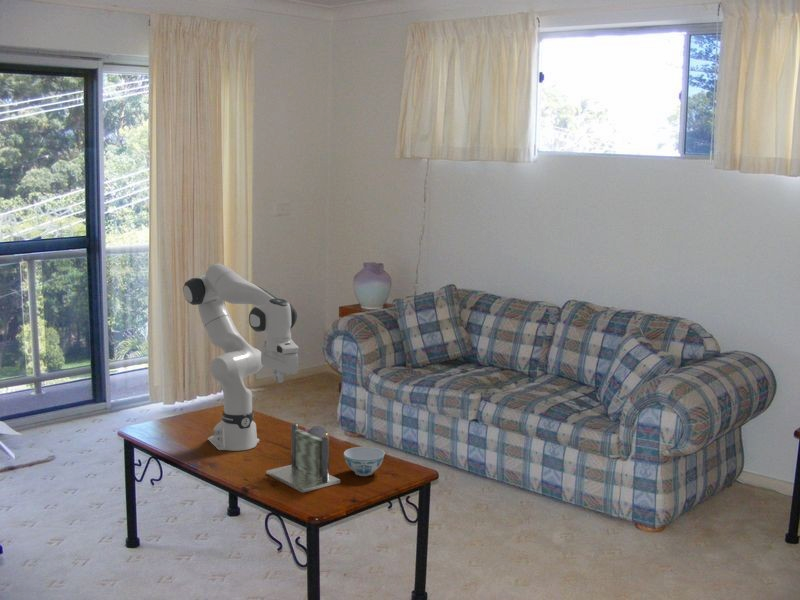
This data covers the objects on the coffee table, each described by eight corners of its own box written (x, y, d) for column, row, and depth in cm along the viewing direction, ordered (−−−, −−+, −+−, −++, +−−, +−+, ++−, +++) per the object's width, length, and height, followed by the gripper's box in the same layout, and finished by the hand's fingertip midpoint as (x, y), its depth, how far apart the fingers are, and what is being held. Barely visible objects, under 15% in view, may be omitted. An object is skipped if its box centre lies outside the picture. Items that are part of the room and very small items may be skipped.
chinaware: (337, 477, 316) (337, 456, 315) (353, 464, 330) (353, 444, 329) (375, 482, 311) (375, 461, 310) (390, 469, 325) (390, 449, 324)
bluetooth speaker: (305, 448, 348) (305, 424, 346) (329, 448, 349) (329, 424, 347) (303, 467, 325) (303, 442, 324) (328, 467, 326) (328, 441, 325)
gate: (295, 465, 321) (295, 430, 319) (299, 464, 323) (299, 429, 321) (319, 477, 309) (319, 441, 307) (323, 476, 310) (324, 440, 308)
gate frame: (266, 473, 318) (266, 424, 315) (303, 464, 328) (303, 416, 326) (302, 492, 300) (302, 440, 297) (340, 482, 310) (340, 432, 307)
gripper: (256, 340, 317) (256, 377, 319) (286, 350, 301) (285, 389, 303) (271, 338, 321) (271, 374, 323) (301, 348, 305) (301, 386, 307)
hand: (278, 381), depth 313 cm, fingers closed
